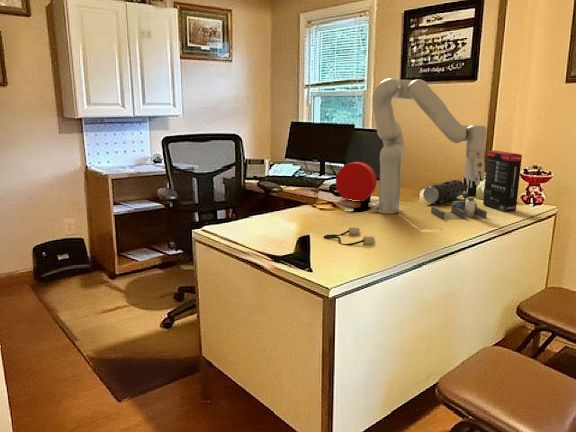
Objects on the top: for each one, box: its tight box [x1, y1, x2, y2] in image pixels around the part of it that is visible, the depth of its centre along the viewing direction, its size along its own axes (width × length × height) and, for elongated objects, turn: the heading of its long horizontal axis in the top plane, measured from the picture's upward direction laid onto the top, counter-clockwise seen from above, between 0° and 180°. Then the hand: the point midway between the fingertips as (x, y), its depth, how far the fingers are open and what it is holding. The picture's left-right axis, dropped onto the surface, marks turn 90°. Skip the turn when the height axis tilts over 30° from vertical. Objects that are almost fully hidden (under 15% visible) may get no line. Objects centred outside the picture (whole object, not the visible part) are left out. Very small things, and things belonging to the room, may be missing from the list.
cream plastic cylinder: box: [465, 197, 476, 217], centre depth 209 cm, size 4×4×8 cm
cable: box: [323, 226, 376, 246], centre depth 177 cm, size 16×16×4 cm
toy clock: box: [335, 161, 377, 202], centre depth 245 cm, size 20×6×20 cm, turn 66°
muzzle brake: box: [423, 179, 466, 205], centre depth 244 cm, size 10×28×10 cm, turn 135°
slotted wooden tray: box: [430, 200, 488, 221], centre depth 211 cm, size 20×14×6 cm
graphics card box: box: [482, 150, 523, 213], centre depth 227 cm, size 17×7×27 cm, turn 14°
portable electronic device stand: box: [462, 190, 470, 201], centre depth 227 cm, size 9×8×8 cm
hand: (471, 196), depth 208 cm, fingers closed
